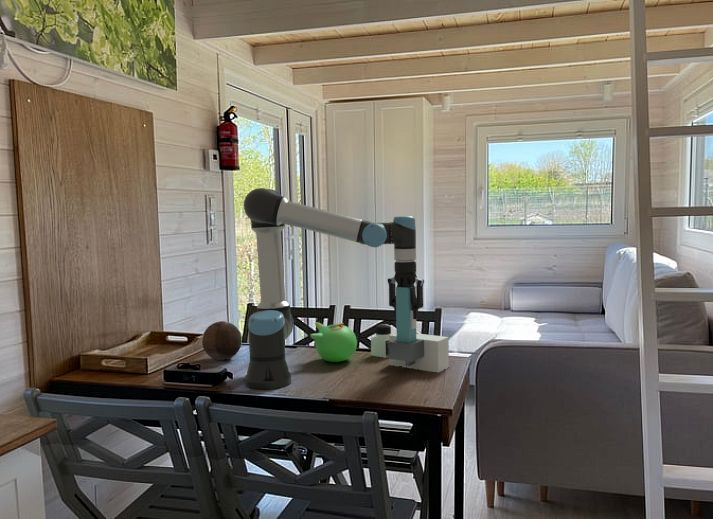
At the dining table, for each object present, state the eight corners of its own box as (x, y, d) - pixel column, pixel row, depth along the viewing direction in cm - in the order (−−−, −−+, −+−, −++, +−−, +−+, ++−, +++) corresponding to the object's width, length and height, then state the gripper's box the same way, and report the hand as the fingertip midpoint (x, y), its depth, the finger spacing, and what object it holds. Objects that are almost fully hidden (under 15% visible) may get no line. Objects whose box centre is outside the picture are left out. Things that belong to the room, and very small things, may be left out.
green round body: (356, 366, 213) (355, 326, 212) (310, 367, 214) (309, 327, 213) (357, 354, 231) (356, 318, 230) (315, 355, 232) (314, 318, 231)
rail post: (396, 344, 204) (395, 287, 202) (404, 341, 208) (403, 285, 207) (409, 345, 201) (408, 287, 200) (416, 343, 205) (415, 286, 204)
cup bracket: (389, 367, 204) (388, 341, 203) (402, 361, 211) (401, 336, 211) (411, 370, 199) (411, 344, 198) (424, 364, 206) (424, 339, 206)
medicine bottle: (386, 358, 225) (385, 327, 224) (370, 355, 229) (370, 325, 228) (396, 354, 231) (395, 324, 230) (381, 352, 235) (380, 322, 234)
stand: (389, 364, 215) (389, 335, 214) (400, 360, 221) (400, 331, 220) (438, 372, 203) (438, 341, 202) (448, 367, 210) (448, 337, 209)
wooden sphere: (247, 355, 234) (246, 318, 233) (234, 364, 220) (233, 325, 218) (211, 354, 237) (210, 318, 235) (196, 364, 222) (194, 325, 221)
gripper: (433, 260, 200) (434, 328, 202) (388, 259, 211) (390, 323, 212) (422, 262, 194) (423, 331, 196) (377, 261, 205) (378, 326, 206)
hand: (406, 327), depth 204 cm, fingers closed on rail post, 5 cm apart
